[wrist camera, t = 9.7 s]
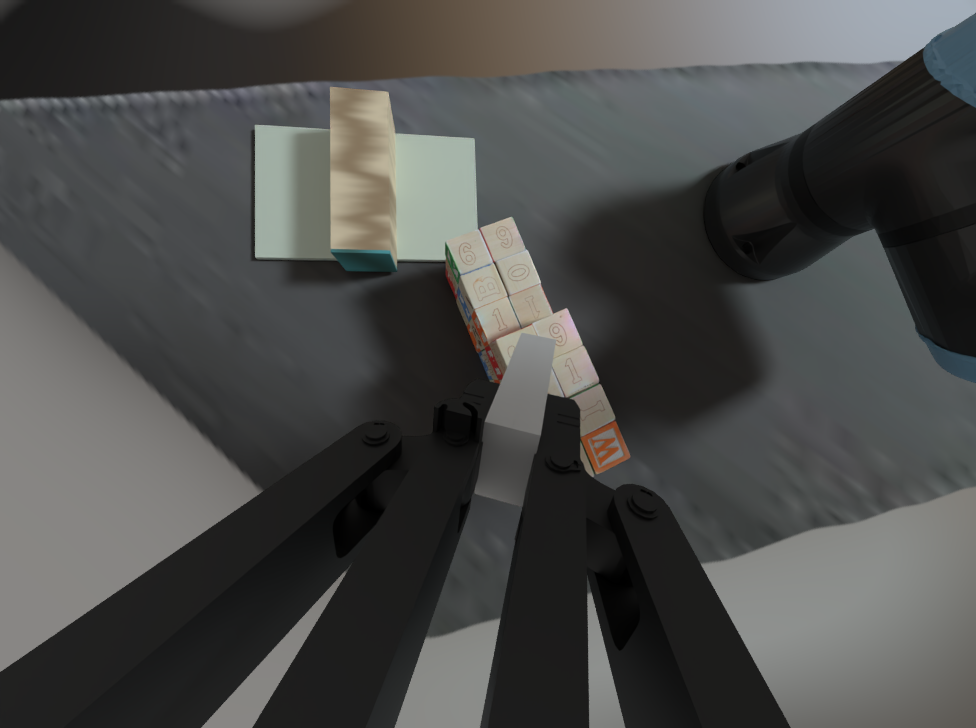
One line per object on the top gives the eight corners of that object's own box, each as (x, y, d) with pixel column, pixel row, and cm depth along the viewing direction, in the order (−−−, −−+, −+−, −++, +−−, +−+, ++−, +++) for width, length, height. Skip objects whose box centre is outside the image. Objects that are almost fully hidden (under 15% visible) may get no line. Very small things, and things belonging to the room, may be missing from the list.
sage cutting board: (473, 142, 38) (474, 138, 37) (478, 262, 37) (478, 260, 37) (258, 129, 35) (255, 124, 34) (258, 259, 34) (255, 257, 34)
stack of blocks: (443, 275, 37) (444, 221, 25) (496, 255, 38) (523, 194, 26) (520, 459, 37) (559, 496, 25) (571, 434, 38) (634, 459, 26)
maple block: (397, 271, 35) (395, 131, 36) (390, 253, 30) (388, 91, 31) (346, 271, 35) (345, 128, 35) (330, 252, 30) (330, 86, 31)
